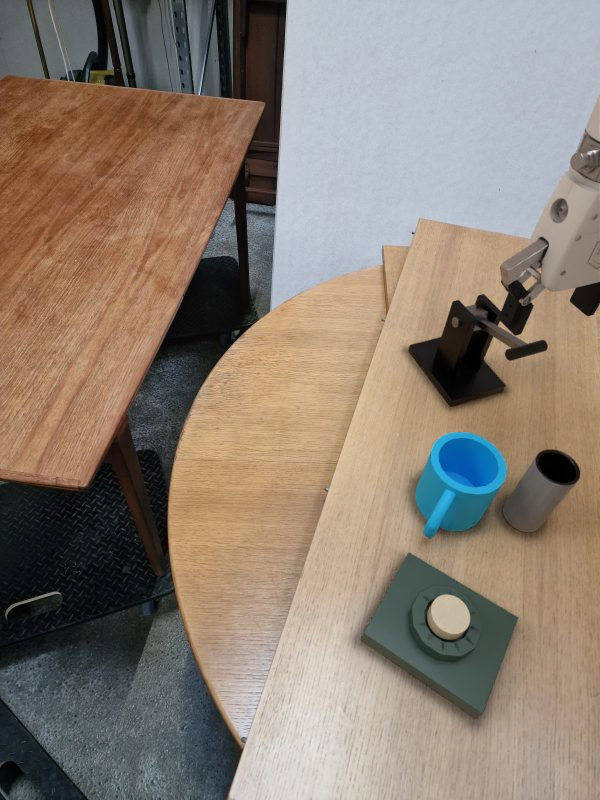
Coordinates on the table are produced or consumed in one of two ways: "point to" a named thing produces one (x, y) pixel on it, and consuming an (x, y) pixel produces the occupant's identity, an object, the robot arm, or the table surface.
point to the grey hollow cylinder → (541, 490)
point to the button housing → (432, 655)
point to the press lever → (506, 336)
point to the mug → (459, 482)
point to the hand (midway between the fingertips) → (545, 317)
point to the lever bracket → (460, 356)
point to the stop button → (448, 617)
